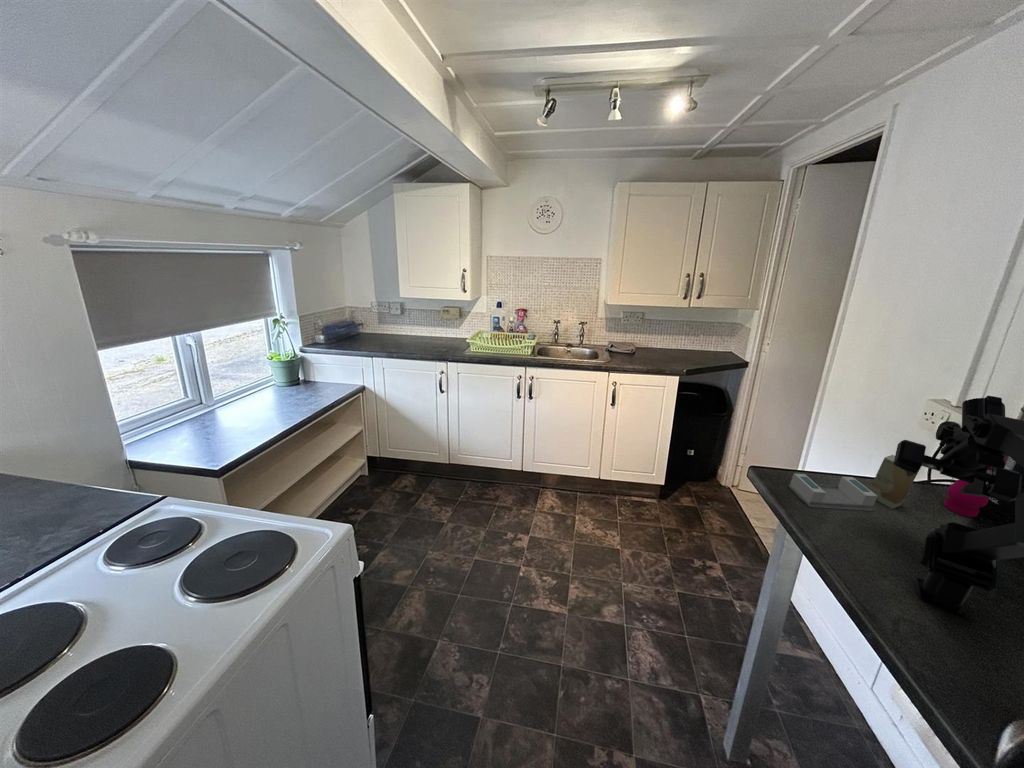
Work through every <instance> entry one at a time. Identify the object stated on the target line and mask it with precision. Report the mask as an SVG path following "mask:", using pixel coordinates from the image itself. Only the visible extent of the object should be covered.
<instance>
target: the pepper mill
mask: <svg viewBox="0 0 1024 768" xmlns="http://www.w3.org/2000/svg"><path fill="white" fill-rule="evenodd" d="M1007 460H1008V456H1007V457H1005V464H1006V463H1007ZM987 470H991V467H989V468H987ZM991 471H992V470H991ZM974 480H976V479H974ZM967 484H969V483H968V482H965V481H962V480H959V479H957V480H956V481H954V482H953V483H952V484H950V486H949V487H948V488H947V490H946V491H947V492H946V493H947V495H948V496H947V497H946V498H945V500H944V502H943V505H944V507H945V508H946V509H948V510H949V511H951V512H953V513H955V514H958V515H960V516H964V517H967V518H976V517H978V515H979V514H980V511H981V510H980V508H983V507H986V506H987V504H988V502H989V500H990V498H989V497H983V496H976V495H968V494H962V493H960V492H961V489H962V488H963V487H964V486H965V485H967Z"/></svg>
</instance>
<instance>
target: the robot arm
mask: <svg viewBox="0 0 1024 768" xmlns="http://www.w3.org/2000/svg"><path fill="white" fill-rule="evenodd" d="M935 439H936V441H942V443H945V445H944V446H942V448H940V454H941V455H942V456H941V457H939V458H936V457H933V456H929V455H926V449H927V446H926V445H925V444H923V443H922V444H921V443H918V442H915V441H911V440H909V439H904V440H901V441H899V443H897V447H896V451H895V454H894V456H895V459H894V464H895V465H896V466H897V467H900V468H901V469H903V470H905V471H906V472H907V476H912V475H914V474H916V473H917V471H918V470H919V471H920V470H921V468H922V467H924V468H927V469H929V470H930V469H931V470H934V471H937V472H939V474H940V475H943V476H946V477H950V478H953V479H957V480H962V481H965V482H968V483H969V484H967V485H965V486H964V487H963V488H962V489H961V492H960V493H962V494H968V495H976V496H983V497H989V499H994V500H1003V501H1005V502H1009V503H1010V502H1011V501H1014V518H1015V519H1014V522H1012V523H1007V524H1003V525H998V526H992V527H987V528H982V529H977V528H975V527H971V526H968V525H963V524H961V523H957V522H948V523H946V524H942V523H940V524H939V527H937V528H935V529H934V530H933V531H930V532H929V533H928V534H927V535H926V537H925V539H924V545H923V547H922V552H921V558H920V559H919V563H920V564H921V565H922V566H923V567H924V568H926V570H927V572H928V573H927V574H926V577H925V578H924V579H923V578H920V577H917V578H915V583H916V587H917V591H918V596H919V599H920V600H921V601H924V602H927V603H929V604H931V605H933V606H935V607H939V608H941V609H943V610H945V611H948V612H951V613H954V614H956V615H958V616H961V617H963V618H968V616H969V614H968V611H967V609H966V606H965V605H966V604H965V601H966V600H967V599H968V597H969V595H970V593H971V591H972V590H973V588H974V587H975V588H978V589H981V590H983V591H986V592H988V593H989V592H991V591H993V590H994V589H995V588H996V586H997V562H998V561H999V560H1000V561H1001V560H1002V561H1003V560H1010V559H1021V558H1022V559H1023V558H1024V491H1023V492H1022V483H1023V476H1022V474H1021V473H1020V472H1018V471H1016V470H1013V469H1010V468H1009V469H1008V468H1005V466H1006V463H1005V457H1007V458H1008V457H1009V458H1010V459H1012V460H1013V461H1014V462H1015V463H1016V464H1018V465H1019V466H1020V467H1021V468H1022V469H1024V419H1018V418H1014V417H1013V418H1012V417H1008V416H1006V405H1005V403H1003V398H1002V397H999V396H993V395H987V396H985V397H976V398H970V399H965V400H964V401H963V402H962V404H961V427H959V426H951V425H947V424H942V425H941V426H939V427H938V428H937V430H936V432H935ZM989 467H991V470H992V471H991V470H987V468H989ZM974 479H976V480H974Z"/></svg>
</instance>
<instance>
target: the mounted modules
mask: <svg viewBox="0 0 1024 768" xmlns="http://www.w3.org/2000/svg"><path fill="white" fill-rule="evenodd" d="M790 480H791V481H790V482H791V483H790V482H789V483H790V484H791V486H792V487H793V488H794V489H795V490H796V491H797V492H798V493H799V494H800V495H801V496H802V497H803V498H804V499H805V500H806V501H807V502H808V503H810V502H821V503H822V502H823V499H824V496H825V494H826V492H825V491H823V490H822V489H821V488H820V487H819V486H818V485H817V484H818V483H816V482H814V481H813V480H812V479H811V478H810V477H809V476H808V475H807V474H805V473H795V472H794V473H793V475H792V477H791V479H790ZM838 486H839V487H838V489H840V490H841V491H842V492H843V493H844V494H846V495H847V496H848V497H849V498H850V499H852V500H853V501H854V502H855V503H856V504H859V505H867V506H874V505H875V503H876V502H877V501H876V499H877V497H878V496H877V495H876V494H874V493H873V492H872V491H870V490H869V489H870V488H868V487H867V486H866V485H864V484H863V483H862V482H860V481H858V480H857V479H856V478H855V477H853V476H841V478H840V480H839V483H838ZM874 507H875V506H874Z"/></svg>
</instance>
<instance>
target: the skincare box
mask: <svg viewBox="0 0 1024 768" xmlns="http://www.w3.org/2000/svg"><path fill="white" fill-rule="evenodd" d="M894 459H895V454H890V455H888V456H885V457H884V458H883V460H882V462H881V464H880V466H879V468H878V470H877V473H876V474H875V476H874V479H873V481H872V482H871V485H870V487H869V488H868V489H869V490H870V491H872V492H873V493H874V494H876V495H877V496H878V497H877V499H876V501H875V502H879V503H881V504H882V505H884V506H886V507H888V508H890V509H896V508H899V507H900V506H902V504H903V502H904V500H905V498H906V497H907V495H908V492H909V490H910V489H911V487H912V485H913V483H914V481H915V479H916V477H917V475H918V474H919V472H920V470H918V471H917V473H916V474H914V475H912V476H907V472H906V471H905V470H903V469H901V468H900V467H897V466H896V465H895V464H894Z"/></svg>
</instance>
